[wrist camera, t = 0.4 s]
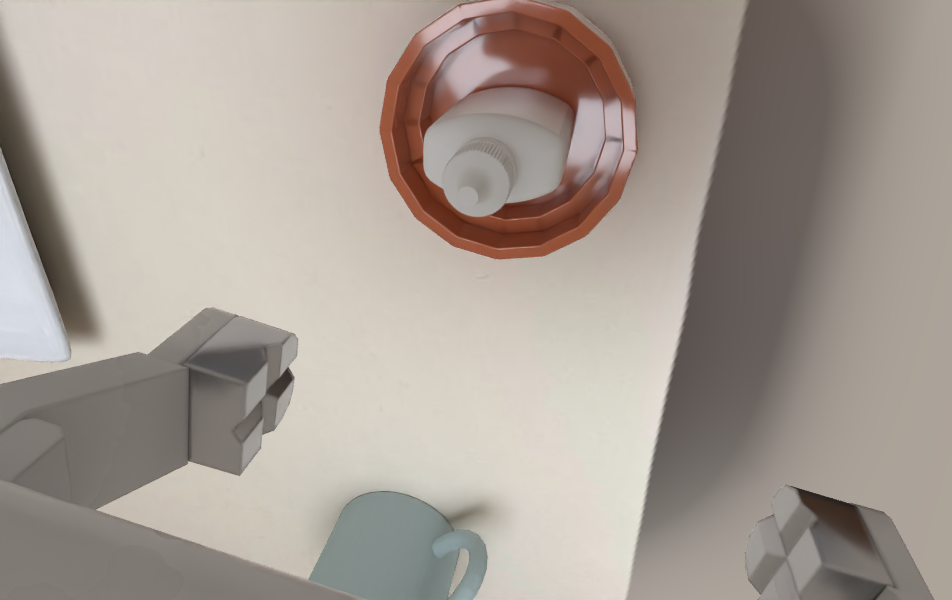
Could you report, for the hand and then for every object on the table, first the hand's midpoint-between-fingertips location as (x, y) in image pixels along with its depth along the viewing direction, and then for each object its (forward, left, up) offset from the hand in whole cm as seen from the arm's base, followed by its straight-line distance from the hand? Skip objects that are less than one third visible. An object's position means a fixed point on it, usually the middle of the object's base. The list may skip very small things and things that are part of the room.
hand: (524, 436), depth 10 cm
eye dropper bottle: (0, -3, -23) cm, 24 cm away
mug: (+30, -2, -24) cm, 39 cm away
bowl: (0, -3, -24) cm, 24 cm away
